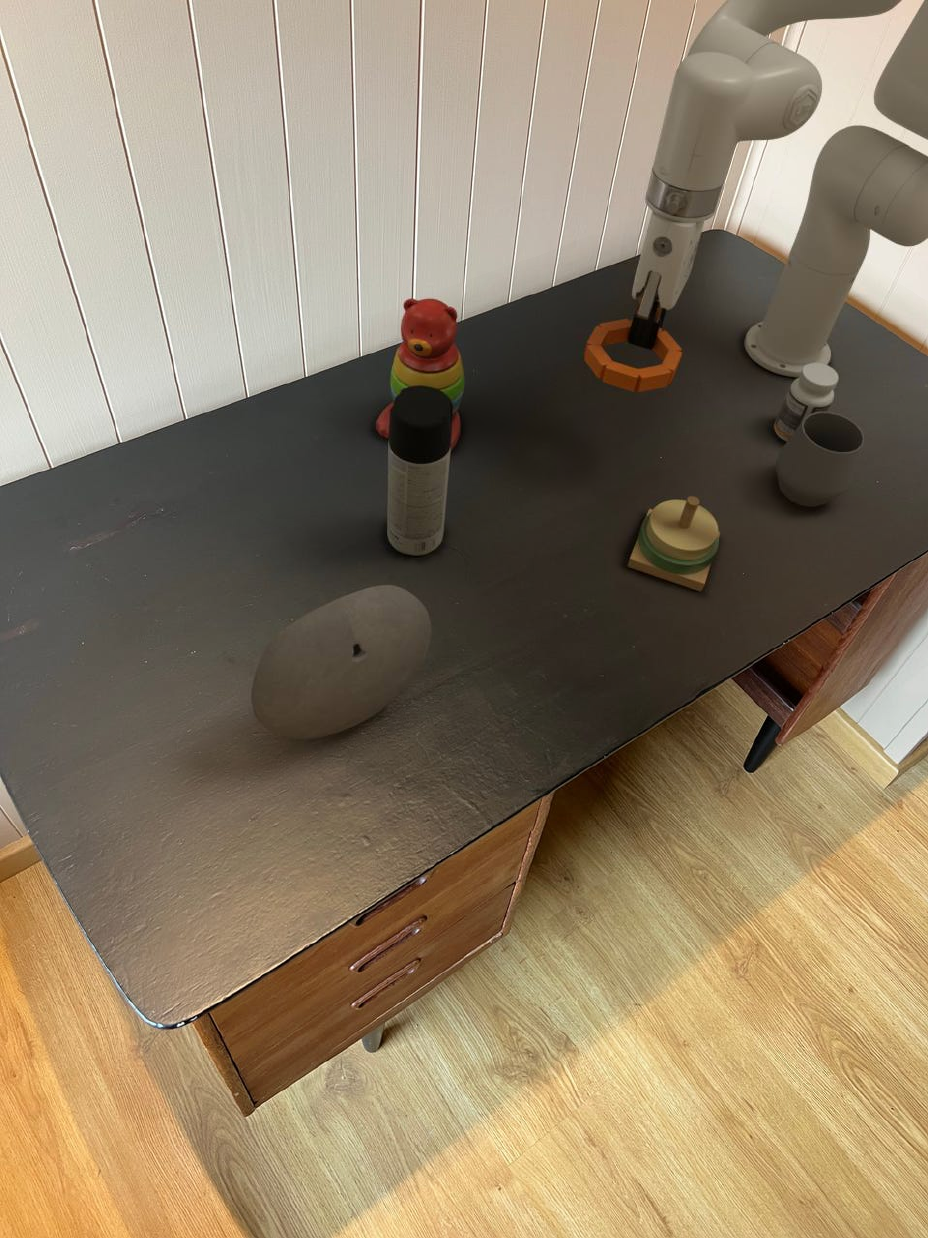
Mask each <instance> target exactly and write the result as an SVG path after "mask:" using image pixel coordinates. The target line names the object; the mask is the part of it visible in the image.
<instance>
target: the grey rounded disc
mask: <svg viewBox="0 0 928 1238" xmlns="http://www.w3.org/2000/svg"><path fill="white" fill-rule="evenodd" d="M431 639H432V621H431V618H430V615H429V612H428V610H427V608H426V606H425V605H424V604H423V602H421V600H420V599H419V598H417V596H415V595H414V594H412V593H411V592H410V591H408V590H406V589H405V588H402V587H400V586H397V585H394V584H380V585H374V586H371V587H367V588H363V589H360V590H357V591H355V592H351V593H349V594H346V595H343V596H342V597H339V598H337V599H334V600H333V601H330V602H328V603H325V604H324V605H322V606H320V607H318V608H316V609H314V610H311V611H310V612H308V613H306V614H305V615H302V616H301V617H300V618H298V619H297V620H295V621H293V622H292V623H290V624H289V625H287V626H286V627H284V628H283V629H282V630H280V631H279V632H278V633H276V634H275V635H274V636H273V637H272V638H271V639H270V640H269V642H268V643H267V644H266V646H265V648H264V650H263V652H262V655H261V657H260V658H259V662H258V664H257V667H256V670H255V674H254V677H253V681H252V684H251V685H252V686H251V692H250V693H251V696H250V700H251V707H252V710H253V713H254V716H255V718H256V720H257V721H258V722H259V724H260V725H261V726H262V727H263V728H264V729H266V730H267V731H268V732H270V733H271V734H273V735H276V736H278V737H282V738H285V739H292V740H310V739H319V738H324V737H327V736H331V735H334V734H335V735H336V734H338V733H341V732H344V731H346V730H349V729H351V728H353V727H355V726H357V725H359V724H361V723H363V722H365V721H366V720H368V719H370V718H372V717H373V716H375V715H376V714H377V713H379V712H380V711H382V710H383V709H384V708H386V707H388V705H390V704H391V703H392V702H394V700H396V699H397V698H398V697H399V696H400V695H401V694H402V693H403V692H404V691H405V690H406V689H407V687H408V686H410V684H412V681H413V680H414V679H415V678H416V676H417V675H418V673H419V671H420V670H421V668H422V667H423V665H424V662H425V660H426V658H427V656H428V653H429V650H430V644H431Z"/></svg>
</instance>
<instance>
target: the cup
mask: <svg viewBox="0 0 928 1238" xmlns="http://www.w3.org/2000/svg"><path fill="white" fill-rule="evenodd" d="M865 439H866V438H865V436H864V432H863V430H862V428H860V426H859V425H858V424H857V423H856V422H854V421H853V420H852V419H850V418H849V417H848V416H847V417H846V416H844V415H842V414H839V413H837V412H832V411H828V412H815V413H812V414H809V415H808V416H807V417H806V418H805V419H804V420H803V421H802V422H801V424H800V425H799V426H798V428H797V429H796V430H795V432H794V433H793V434H792V436H791V437H790V438H789V440H788V441H787V442H786V441H785V442H786V443H785V444H784V445H783V446H782V448H781V449H780V451H778V455H777V459H776V462H775V470H776V475H777V481H778V486H779V490H780V492H782V494H783V495H784V496H785V497H786V498H787V499H788V500H789V501H791V502H793V503H794V504H797V505H799V506H803V507H808V508H809V507H810V508H811V507H819V506H821V505H824V504H827V503H828V502H830V501H832V500H834V499H836V498H838V497H839V496H841V495H842V494H843V493H844V492H845V491H847V489H848V488H850V486H851V484H852V482H853V479H854V476H855V473H856V469H857V466H858V463H859V460H860V457H861V454H862V451H863V447H864V444H865Z"/></svg>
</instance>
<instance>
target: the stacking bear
mask: <svg viewBox="0 0 928 1238" xmlns="http://www.w3.org/2000/svg"><path fill="white" fill-rule="evenodd" d="M403 310H404V314H403V315H402V319H401V324H400V336H401V339H402V342H401V344H400V345H399V347H398V348H397V350H396V352H395V355H394V359H393V363H392V366H391V371H390V380H389V381H390V383H389V384H390V392H391V397H392V400H393V401H392V402H390V404H388V405H387V406H386V407H385V409H383V410H382V412H381V413H380V414H379V416H378V417H377V419H376V422H375V429H376V431H377V433H378V435H380V436H381V437H384V438H385V439H387V440H389V422H390V420H389V418H390V409H391V408H392V407H393V404H394V400H395V398H396V396H397V395H399V394H400V392H401V390H402V389H404V388H407V387H411V386H417V385H423V386H429V387H433V388H436V389H439V390H441V391H442V392H444V393H445V394H446V395H447V396H448V397H449V398H450V399H451V401H452V403H453V417H452V436H451V452H452V451H453V450H454V448H455V447H456V445H457V444H458V442H459V439H460V436H461V431H462V430H461V427H462V425H461V423H462V422H461V417H460V414H459V408H460V405H461V402H462V399H463V396H464V391H465V383H466V381H465V371H464V367H463V361H462V356H461V354H460V351H459V348H458V347H457V345H456V344H455V340H456V337H457V332H458V322H457V319H458V311H457V310H456V308H454V307H452V306H448V304H446V303H445V302H443V301H442V300H440V299H437V298H423V299H420V300H417V299H415V298H412V297H411V298H407V299H406V300H405V301H404V302H403Z"/></svg>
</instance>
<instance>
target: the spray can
mask: <svg viewBox="0 0 928 1238" xmlns="http://www.w3.org/2000/svg"><path fill="white" fill-rule="evenodd" d="M393 402H394V404H393V407H392V408H391V409H390V418H389V420H390V422H389V439H388V445H387V448H388V449H387V450H388V451H387V457H388V458H387V511H386V512H387V514H386V515H387V517H386V518H387V519H386V525H387V526H386V529H387V530H386V534H387V538H388V539H387V540H388V542H389V543H390V545H391V547H392V548H394V549H395V550H396V551H397V552H399V553H401V554H403V555H407V556H412V557H413V556H414V557H416V556H418V557H420V556H427V555H428V554H431V553H432V552H433V551H435V550H436V549H437V548H438V547H439V546H440V545H441V544H442V541H443V537H444V532H445V519H446V509H447V508H446V507H447V506H446V505H447V496H448V495H447V494H448V484H449V473H450V461H451V452H452V451H451V436H452V417H453V403H452V401H451V399H450V398H449V397H448V396H447V395H446V394H445V393H444V392H442V391H441V390H439V389H436V388H433V387H429V386H423V385H417V386H411V387H407V388H404V389H402V390H401V392H400V394H399V395H397V396H396V398H395V400H393Z"/></svg>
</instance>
